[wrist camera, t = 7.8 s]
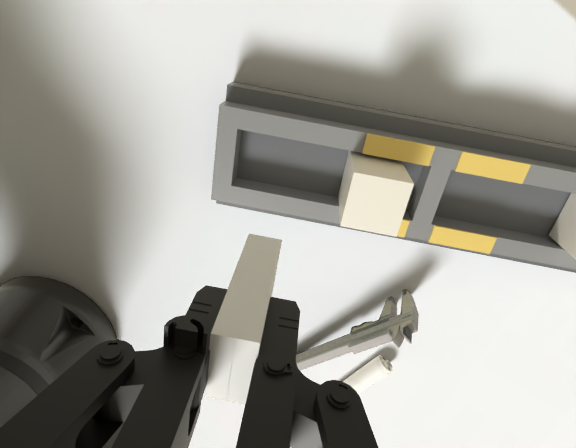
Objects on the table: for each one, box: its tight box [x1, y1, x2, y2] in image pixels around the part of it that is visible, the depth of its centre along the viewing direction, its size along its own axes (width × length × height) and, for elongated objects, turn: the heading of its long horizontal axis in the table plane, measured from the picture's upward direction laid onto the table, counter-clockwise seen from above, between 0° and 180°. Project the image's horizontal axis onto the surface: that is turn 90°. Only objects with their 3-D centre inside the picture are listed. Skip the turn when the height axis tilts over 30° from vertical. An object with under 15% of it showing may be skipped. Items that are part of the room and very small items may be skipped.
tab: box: [338, 150, 414, 237], centre depth 29 cm, size 4×4×6 cm
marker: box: [342, 354, 392, 395], centre depth 46 cm, size 18×2×2 cm, turn 140°
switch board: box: [211, 82, 576, 273], centre depth 32 cm, size 34×10×4 cm, turn 80°
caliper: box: [296, 290, 418, 370], centre depth 40 cm, size 20×1×6 cm, turn 130°
